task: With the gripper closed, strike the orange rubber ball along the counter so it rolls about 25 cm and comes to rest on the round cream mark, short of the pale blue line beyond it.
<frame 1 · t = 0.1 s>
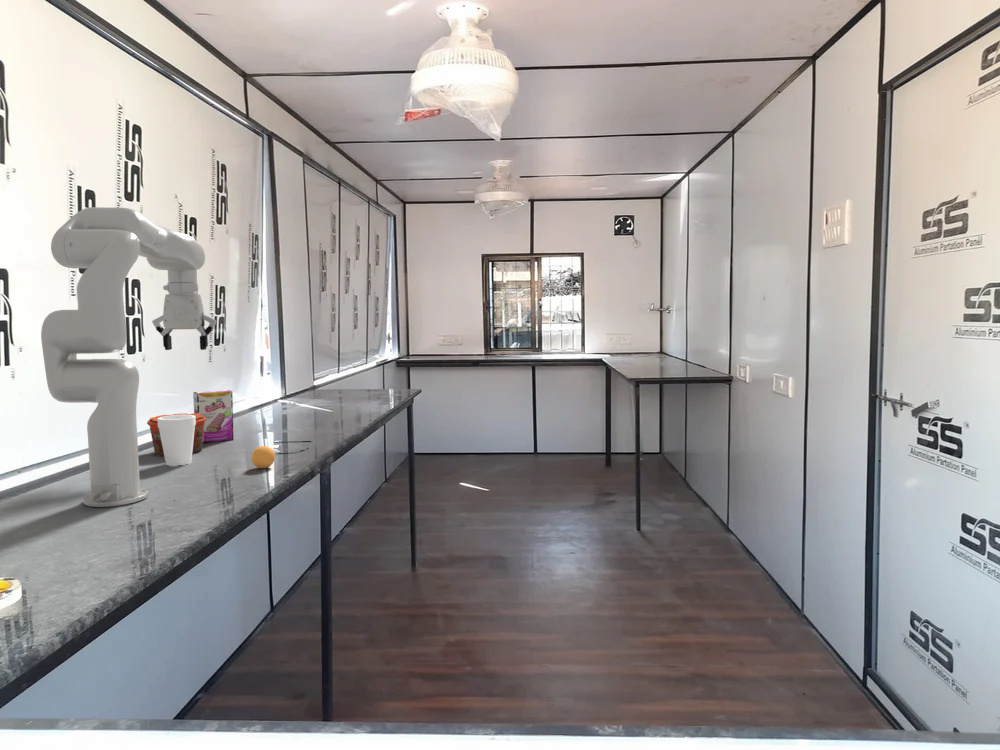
hand: (186, 349, 192), 31 cm above the counter, tool pointing down, fingers open, 9 cm apart
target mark: (285, 449, 205), on the counter
candy bar box: (214, 441, 218), on the counter
foam cup: (178, 464, 186), on the counter
ball: (263, 457, 180), on the counter
too far line: (293, 441, 217), on the counter
food container: (178, 452, 201), on the counter
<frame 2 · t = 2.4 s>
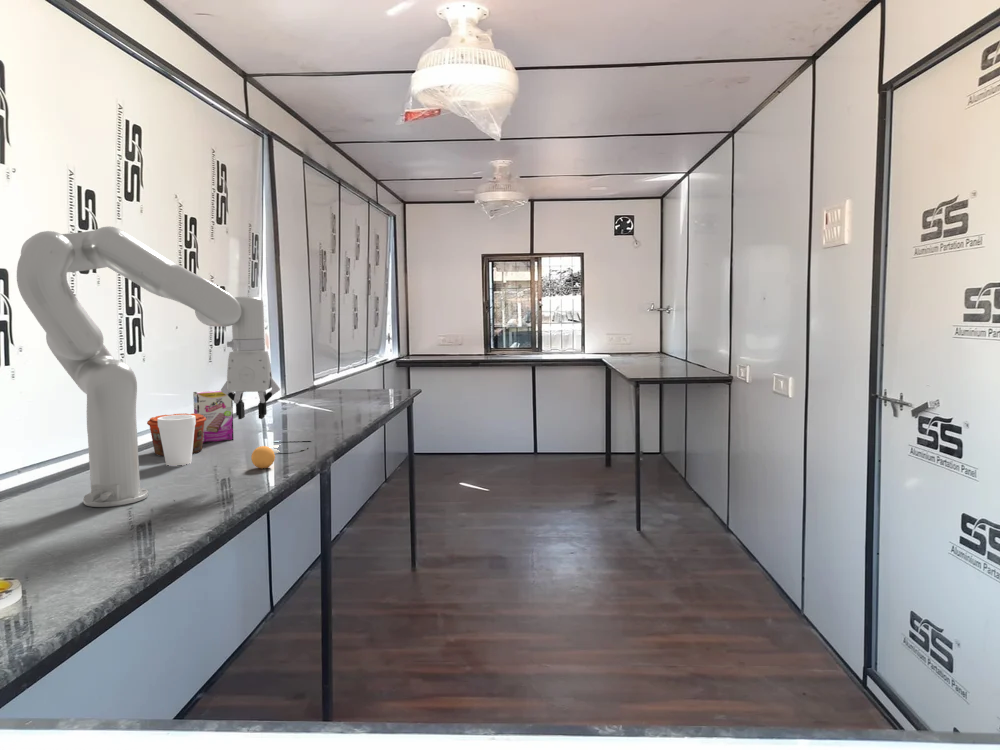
hand: (251, 417, 169), 15 cm above the counter, tool pointing down, fingers open, 4 cm apart
nothing on the counter moved.
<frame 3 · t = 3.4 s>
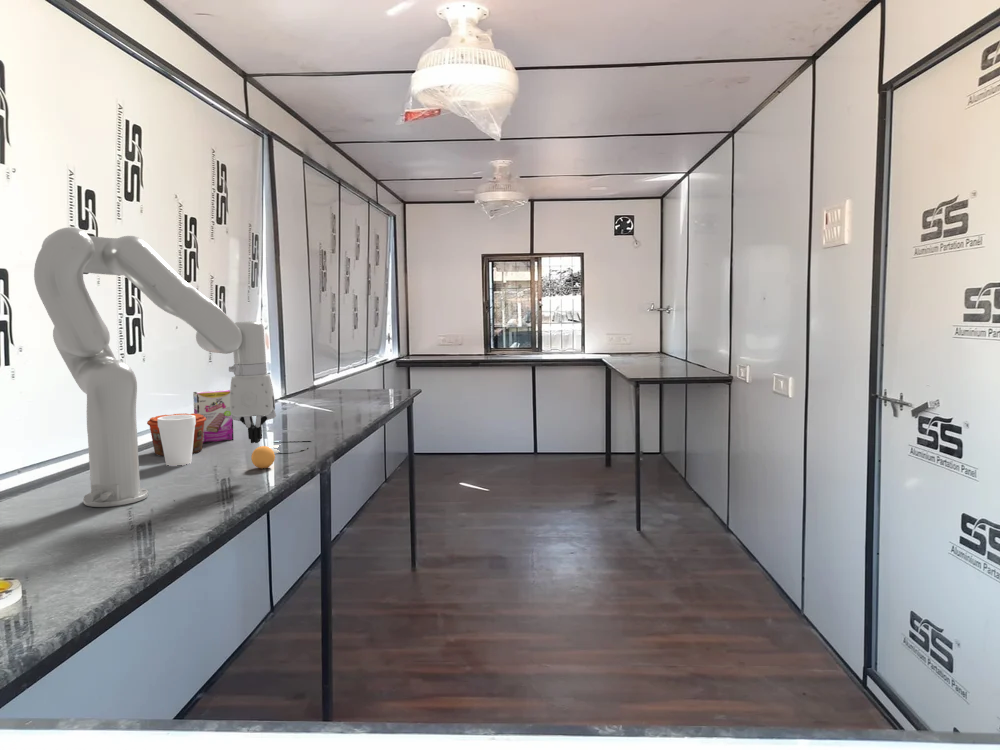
hand: (255, 441, 170), 9 cm above the counter, tool pointing down, fingers closed
nothing on the counter moved.
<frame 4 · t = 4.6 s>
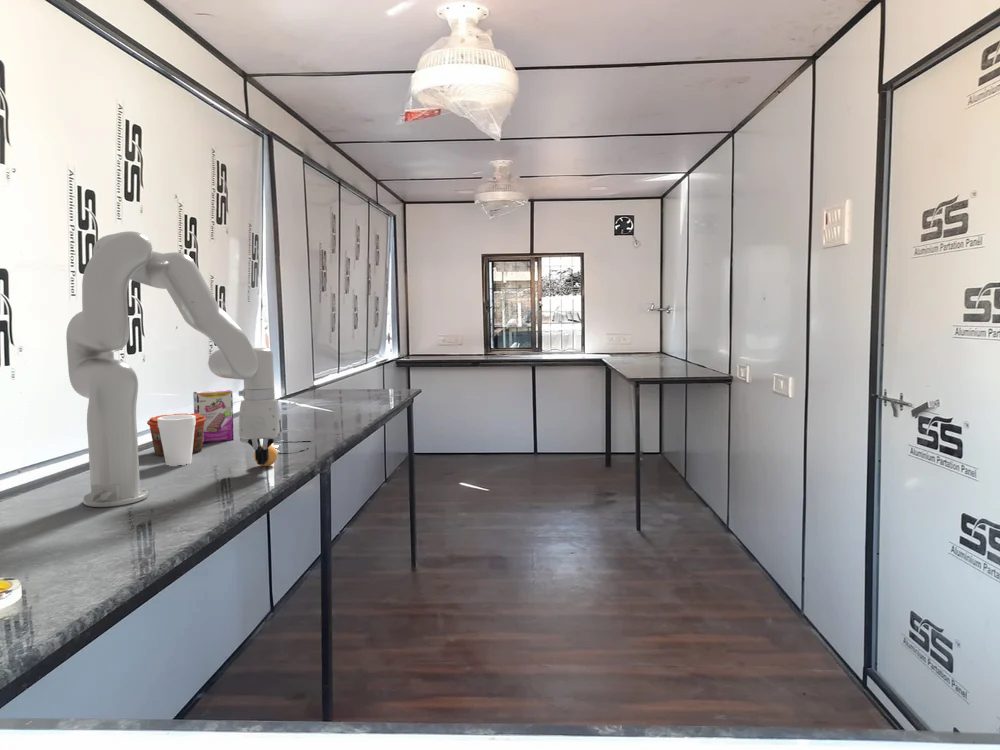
hand: (262, 463, 178), 2 cm above the counter, tool pointing down, fingers closed
ball: (265, 455, 182), on the counter
everything else where it was.
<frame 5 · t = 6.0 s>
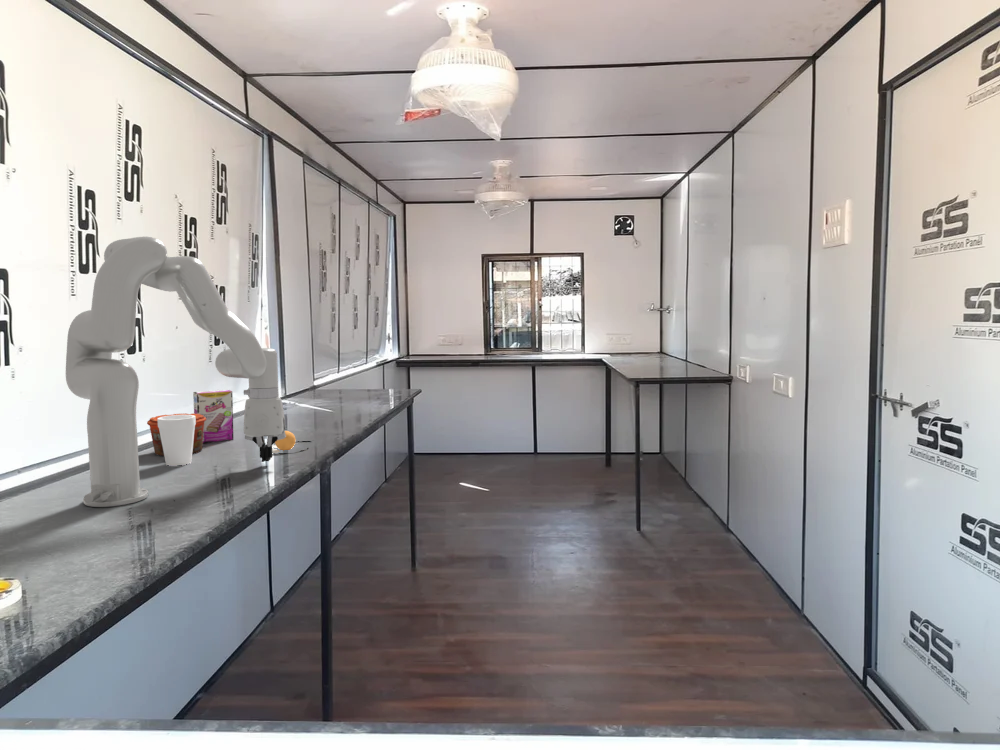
hand: (266, 460, 183), 2 cm above the counter, tool pointing down, fingers closed
ball: (285, 440, 202), on the counter
everything else where it was.
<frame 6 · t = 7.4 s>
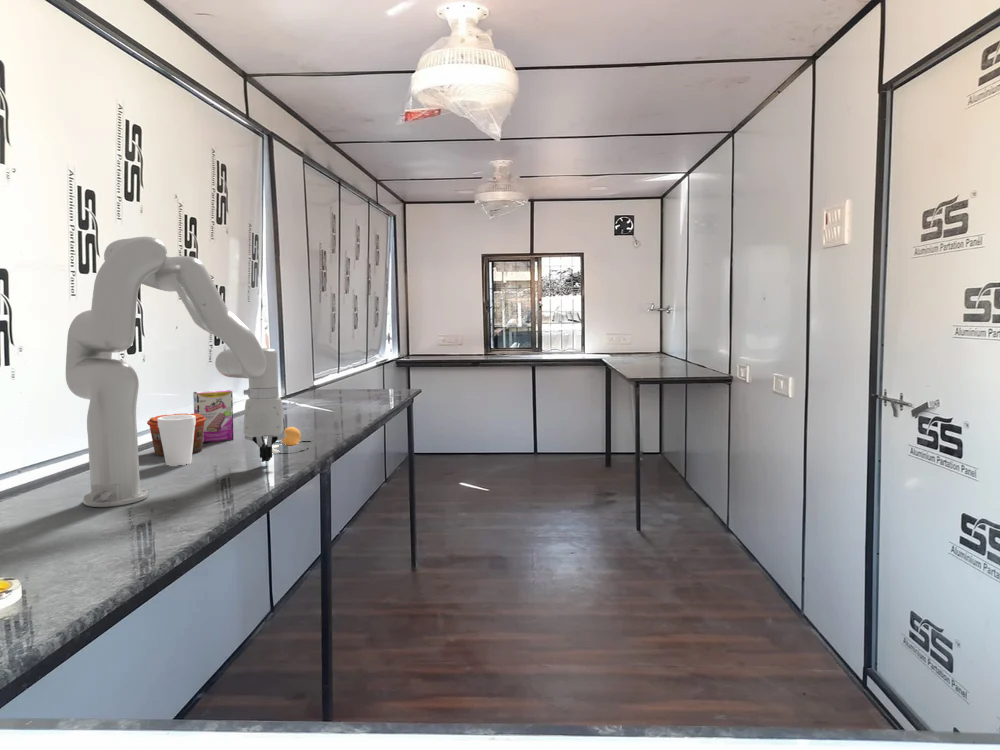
hand: (266, 460, 183), 2 cm above the counter, tool pointing down, fingers closed
ball: (291, 436, 209), on the counter
everything else where it was.
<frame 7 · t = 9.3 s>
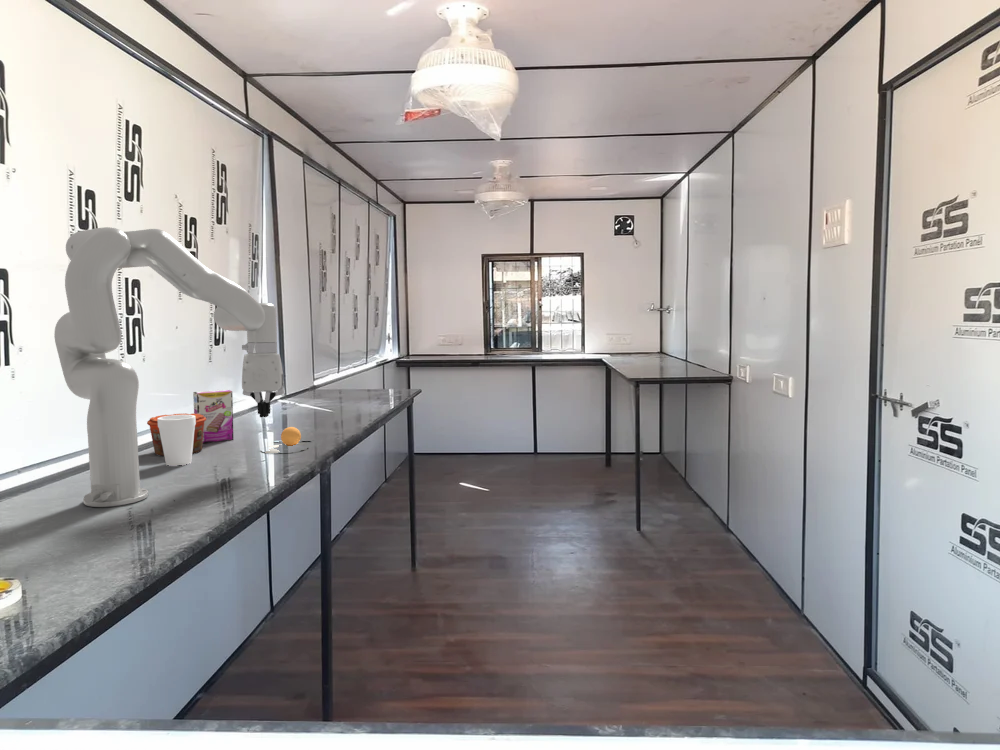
hand: (264, 416, 181), 14 cm above the counter, tool pointing down, fingers closed
nothing on the counter moved.
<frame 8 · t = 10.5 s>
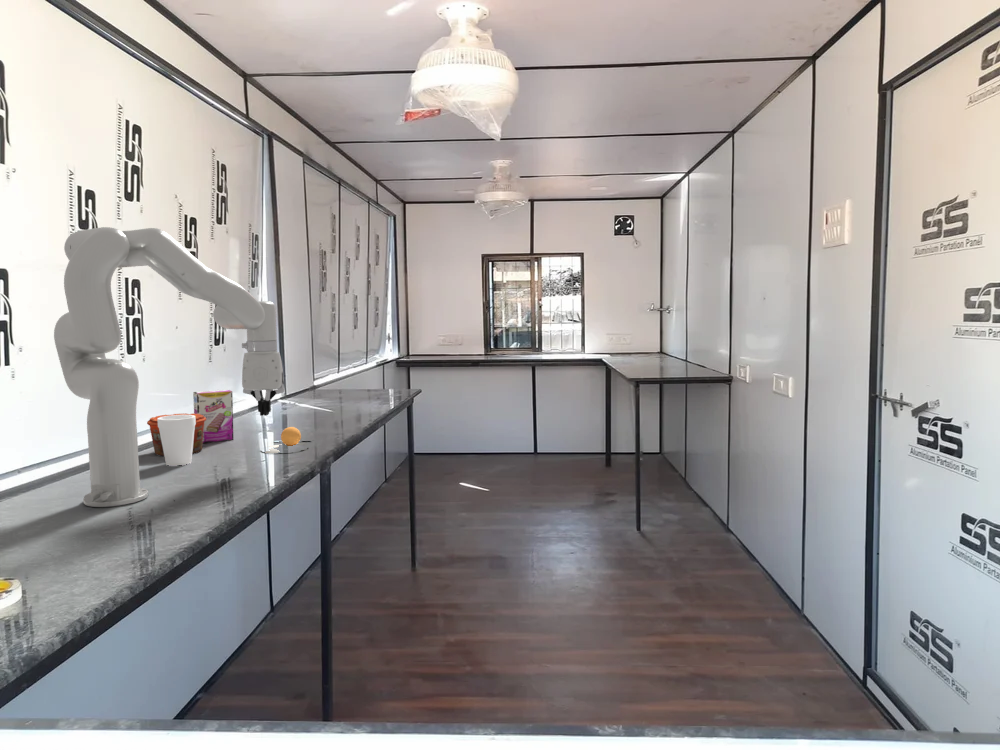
hand: (264, 414, 182), 14 cm above the counter, tool pointing down, fingers closed
nothing on the counter moved.
at the end: ball 4.9 cm from the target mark (horizontally); ball at rest at the end (0.0 cm/s); ball moved 29.9 cm from its start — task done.
